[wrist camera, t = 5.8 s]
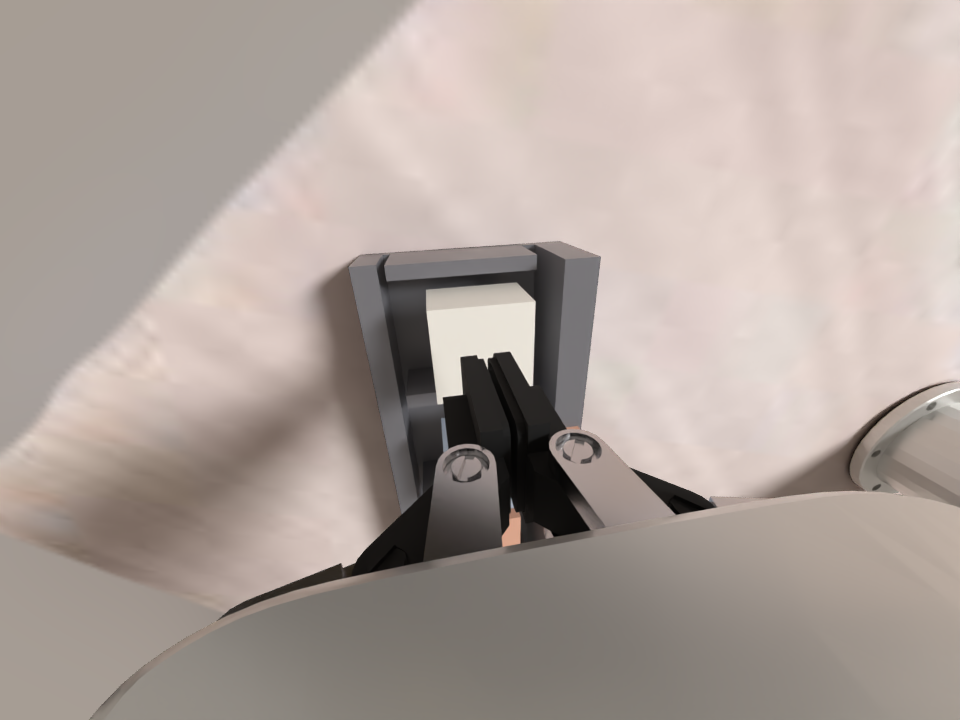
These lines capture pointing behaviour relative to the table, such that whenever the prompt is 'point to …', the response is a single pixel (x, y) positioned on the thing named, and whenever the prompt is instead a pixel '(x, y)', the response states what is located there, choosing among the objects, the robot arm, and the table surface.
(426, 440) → the grey compartment tray
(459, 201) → the table surface
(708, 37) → the table surface
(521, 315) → the key ivory
